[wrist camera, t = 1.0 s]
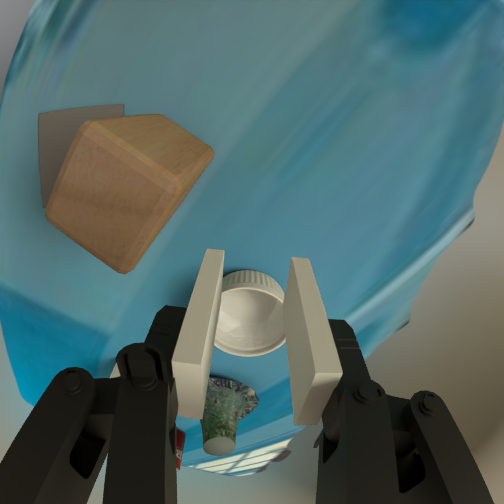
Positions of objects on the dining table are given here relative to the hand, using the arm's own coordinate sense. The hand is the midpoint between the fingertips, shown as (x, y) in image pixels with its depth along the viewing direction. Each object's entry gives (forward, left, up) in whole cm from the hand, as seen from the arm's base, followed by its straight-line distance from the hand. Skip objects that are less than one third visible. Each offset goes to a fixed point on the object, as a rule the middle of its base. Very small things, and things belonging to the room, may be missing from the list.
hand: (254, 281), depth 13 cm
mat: (0, -27, -29) cm, 39 cm away
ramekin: (+21, +1, -29) cm, 36 cm away
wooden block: (0, -12, -29) cm, 31 cm away
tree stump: (+48, -4, -29) cm, 56 cm away
